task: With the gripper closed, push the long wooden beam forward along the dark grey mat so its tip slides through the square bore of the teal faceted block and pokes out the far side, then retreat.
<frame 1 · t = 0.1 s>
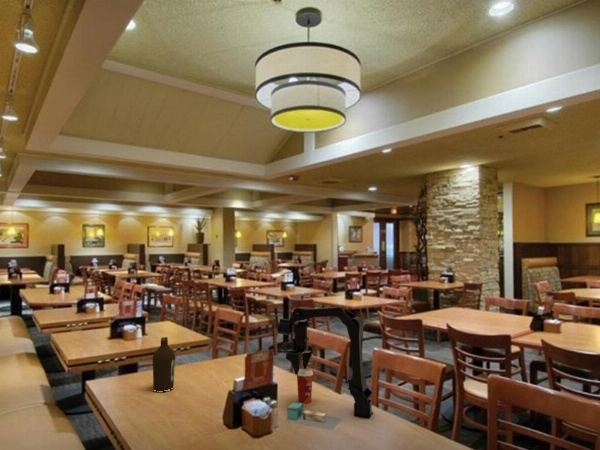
hand: (300, 371, 185), 15 cm above the table, fingers open, 9 cm apart
long wooden beam: (314, 419, 168), resting on mat
mat: (313, 420, 168), on the table
teal faceted block: (295, 416, 171), resting on mat
paper cup: (304, 402, 188), on the table
olive oil: (163, 389, 205), on the table
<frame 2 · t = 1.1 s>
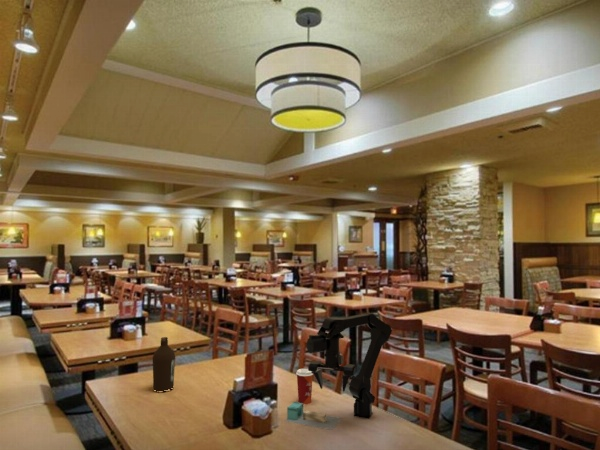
hand: (332, 389, 167), 13 cm above the table, fingers open, 9 cm apart
nothing on the table moved.
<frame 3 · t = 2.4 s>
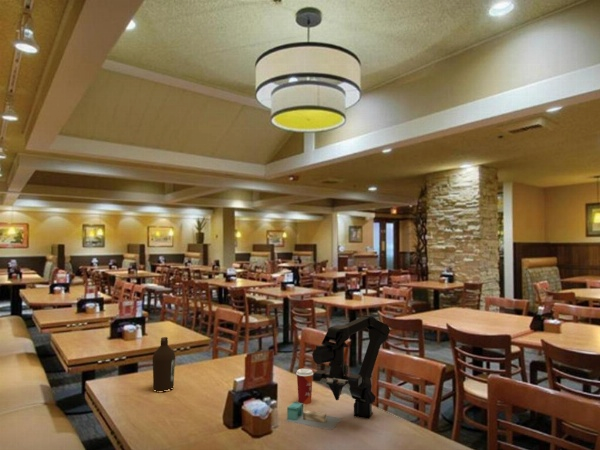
hand: (337, 400, 165), 9 cm above the table, fingers closed
nothing on the table moved.
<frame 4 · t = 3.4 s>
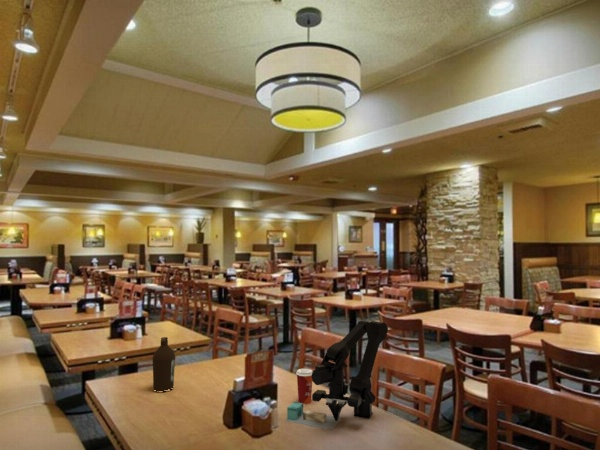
hand: (336, 420, 164), 2 cm above the table, fingers closed
nothing on the table moved.
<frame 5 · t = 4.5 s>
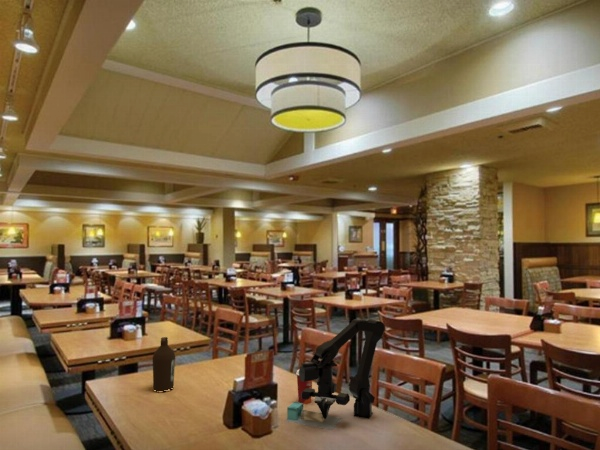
hand: (325, 418, 166), 2 cm above the table, fingers closed
long wooden beam: (312, 419, 168), resting on mat, touching gripper
everything else where it was.
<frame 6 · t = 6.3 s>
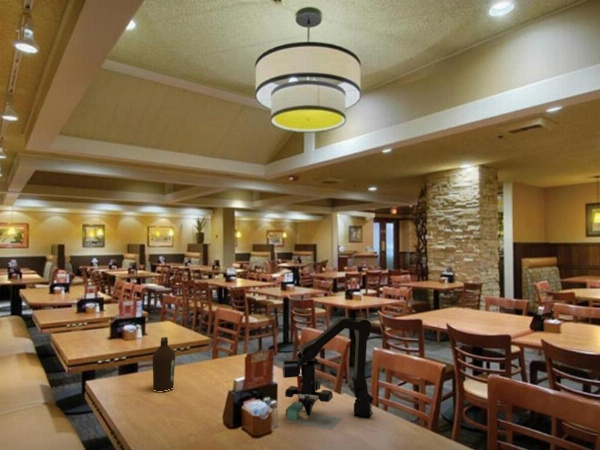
hand: (309, 415, 169), 2 cm above the table, fingers closed
long wooden beam: (297, 416, 171), resting on mat, touching gripper
everything else where it was.
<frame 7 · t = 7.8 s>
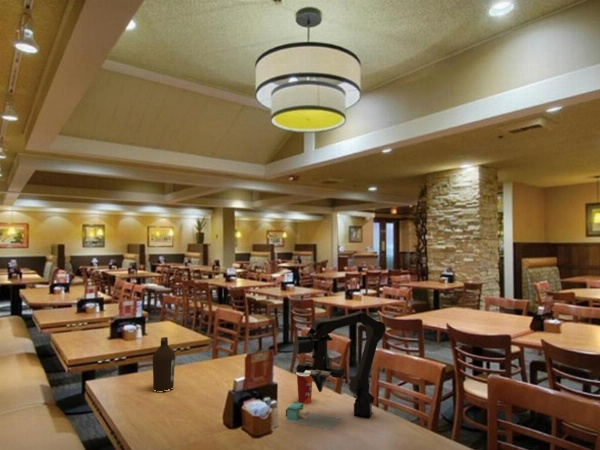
hand: (320, 391, 168), 12 cm above the table, fingers closed
long wooden beam: (297, 416, 171), resting on mat
everything else where it was.
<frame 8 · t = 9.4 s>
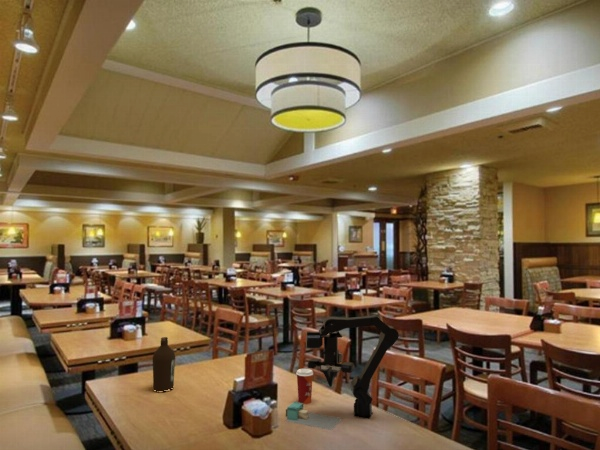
hand: (330, 386, 173), 12 cm above the table, fingers closed
nothing on the table moved.
at the end: long wooden beam 1.8 cm from the target spot on the teal faceted block, point 0.0 cm above the teal faceted block's base; long wooden beam resting on mat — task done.
